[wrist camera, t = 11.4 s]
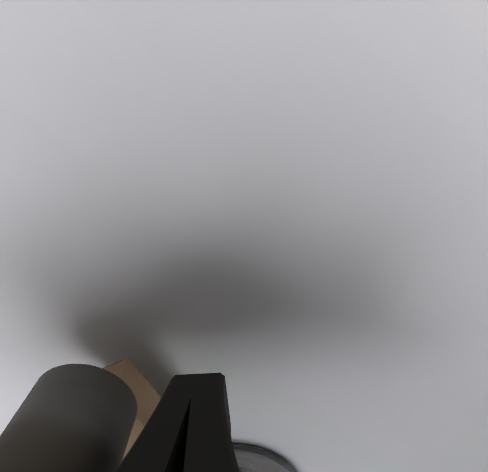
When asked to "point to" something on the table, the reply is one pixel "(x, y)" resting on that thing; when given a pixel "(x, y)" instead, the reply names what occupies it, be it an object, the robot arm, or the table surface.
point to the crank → (78, 419)
